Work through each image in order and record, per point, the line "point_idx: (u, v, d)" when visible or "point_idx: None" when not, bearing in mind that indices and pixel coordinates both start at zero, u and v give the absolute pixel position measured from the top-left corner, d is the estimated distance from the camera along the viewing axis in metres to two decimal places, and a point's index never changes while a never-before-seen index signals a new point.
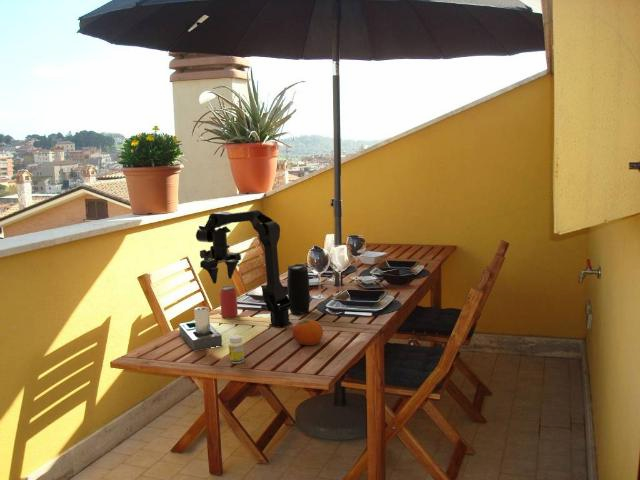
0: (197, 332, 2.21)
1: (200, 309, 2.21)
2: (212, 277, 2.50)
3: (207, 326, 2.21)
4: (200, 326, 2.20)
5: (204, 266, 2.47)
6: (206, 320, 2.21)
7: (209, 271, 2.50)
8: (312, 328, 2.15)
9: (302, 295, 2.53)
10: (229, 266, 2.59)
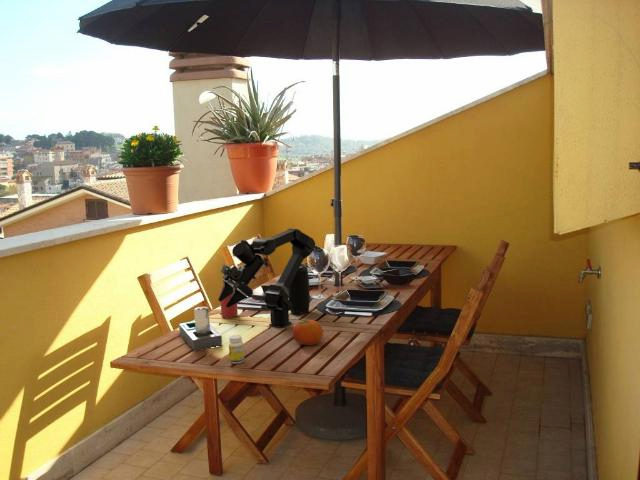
0: (197, 332, 2.21)
1: (200, 309, 2.21)
2: (232, 301, 2.21)
3: (207, 326, 2.21)
4: (200, 326, 2.20)
5: (244, 291, 2.18)
6: (206, 320, 2.21)
7: (235, 294, 2.20)
8: (312, 328, 2.15)
9: (302, 295, 2.53)
10: (227, 289, 2.31)
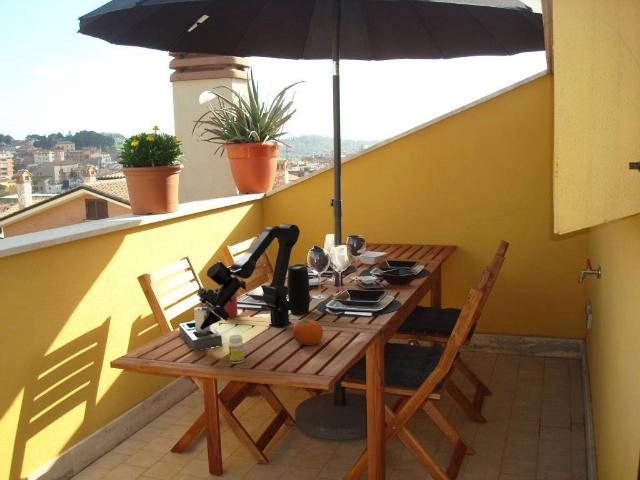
0: (197, 332, 2.21)
1: (200, 309, 2.21)
2: (206, 323, 2.19)
3: None
4: None
5: (220, 314, 2.15)
6: None
7: (209, 316, 2.19)
8: (312, 328, 2.15)
9: (302, 295, 2.53)
10: None
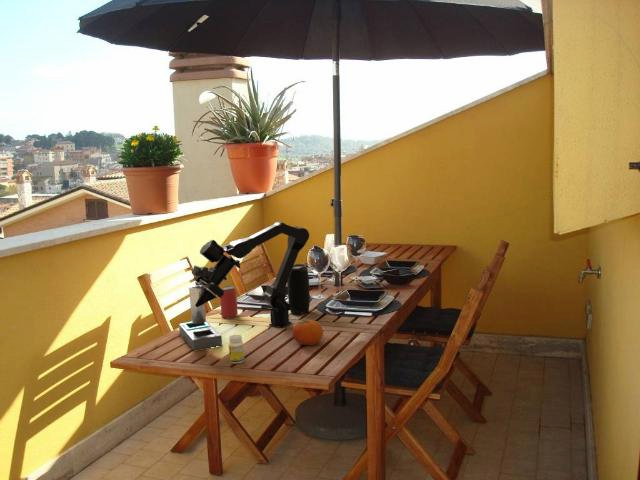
0: (192, 310, 2.25)
1: (195, 287, 2.24)
2: (201, 300, 2.23)
3: None
4: None
5: (215, 291, 2.19)
6: None
7: (204, 294, 2.23)
8: (312, 328, 2.15)
9: (302, 295, 2.53)
10: None
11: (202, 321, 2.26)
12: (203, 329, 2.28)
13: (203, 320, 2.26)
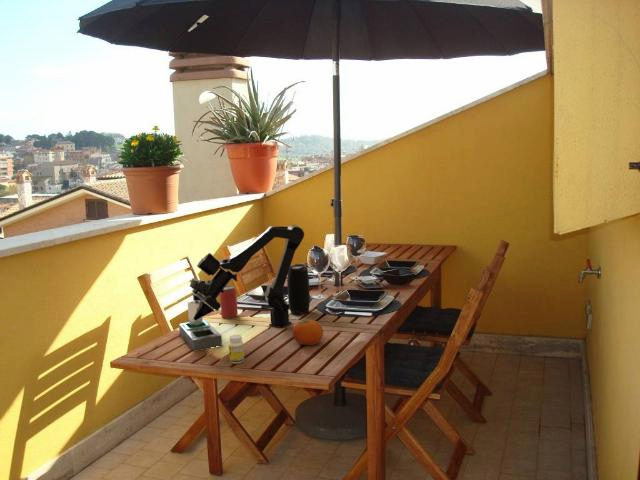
0: (190, 324, 2.31)
1: (193, 302, 2.30)
2: (199, 314, 2.28)
3: (200, 318, 2.31)
4: (193, 319, 2.30)
5: (211, 304, 2.25)
6: None
7: (202, 307, 2.27)
8: (312, 328, 2.15)
9: (302, 295, 2.53)
10: None
11: None
12: (203, 329, 2.28)
13: None
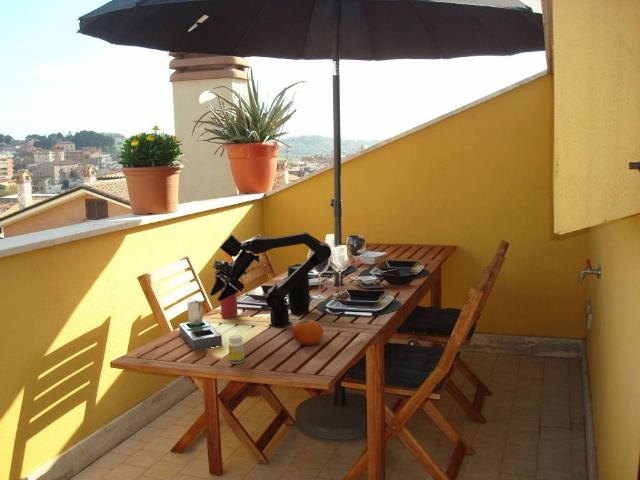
0: (190, 324, 2.31)
1: (193, 302, 2.30)
2: (223, 295, 2.30)
3: (200, 318, 2.31)
4: (193, 319, 2.30)
5: (235, 285, 2.27)
6: (199, 313, 2.30)
7: (226, 288, 2.30)
8: (312, 328, 2.15)
9: (302, 295, 2.53)
10: (219, 284, 2.40)
11: None
12: (203, 329, 2.28)
13: None
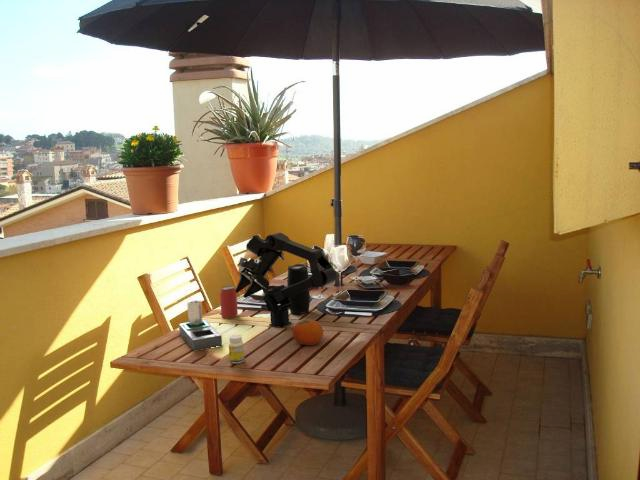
0: (190, 324, 2.31)
1: (193, 302, 2.30)
2: (249, 291, 2.32)
3: (200, 318, 2.31)
4: (193, 319, 2.30)
5: (261, 282, 2.30)
6: (199, 313, 2.30)
7: (252, 285, 2.32)
8: (312, 328, 2.15)
9: (302, 295, 2.53)
10: (243, 281, 2.42)
11: None
12: (203, 329, 2.28)
13: None
